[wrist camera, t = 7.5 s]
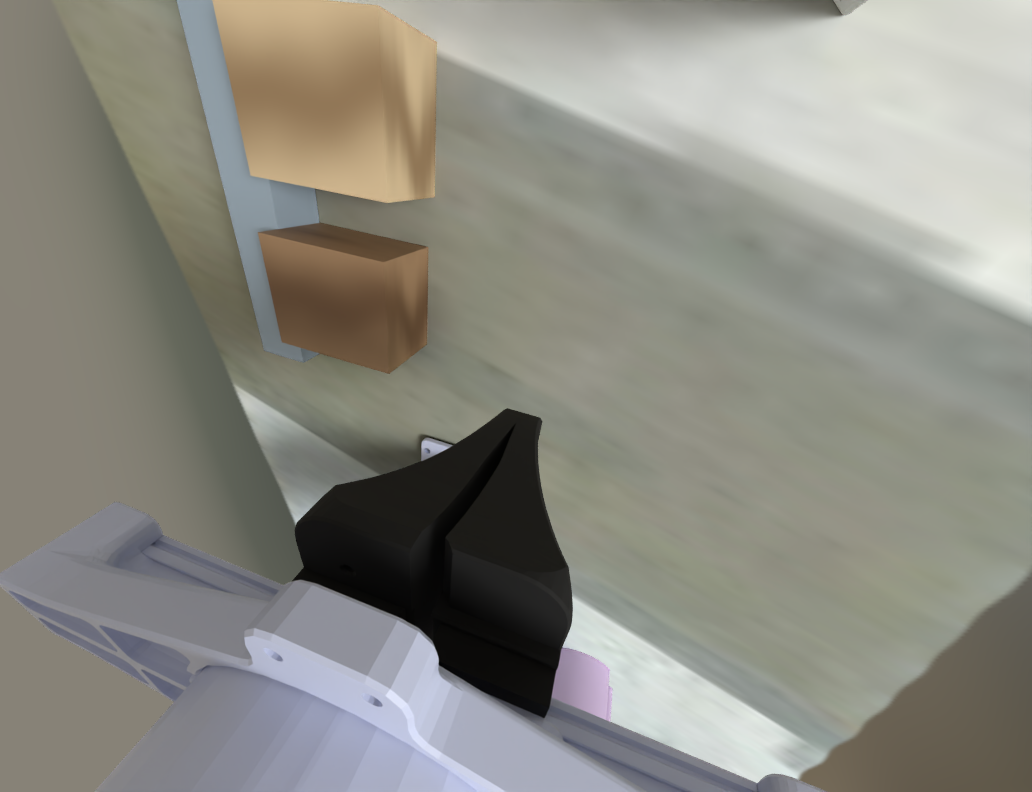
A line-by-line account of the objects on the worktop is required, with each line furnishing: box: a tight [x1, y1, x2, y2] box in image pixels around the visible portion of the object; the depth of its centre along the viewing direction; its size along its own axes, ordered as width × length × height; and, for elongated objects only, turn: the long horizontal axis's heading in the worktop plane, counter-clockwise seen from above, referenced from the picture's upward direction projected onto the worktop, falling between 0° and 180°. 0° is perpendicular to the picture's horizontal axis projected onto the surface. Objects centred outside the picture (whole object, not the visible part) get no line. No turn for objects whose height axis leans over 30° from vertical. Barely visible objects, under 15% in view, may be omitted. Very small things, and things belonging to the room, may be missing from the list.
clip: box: [552, 648, 612, 722], centre depth 39 cm, size 20×12×7 cm, turn 102°
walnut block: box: [258, 223, 428, 374], centre depth 21 cm, size 6×7×4 cm
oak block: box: [212, 0, 437, 203], centre depth 17 cm, size 6×7×4 cm
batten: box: [177, 0, 320, 363], centre depth 20 cm, size 18×3×3 cm, turn 172°
